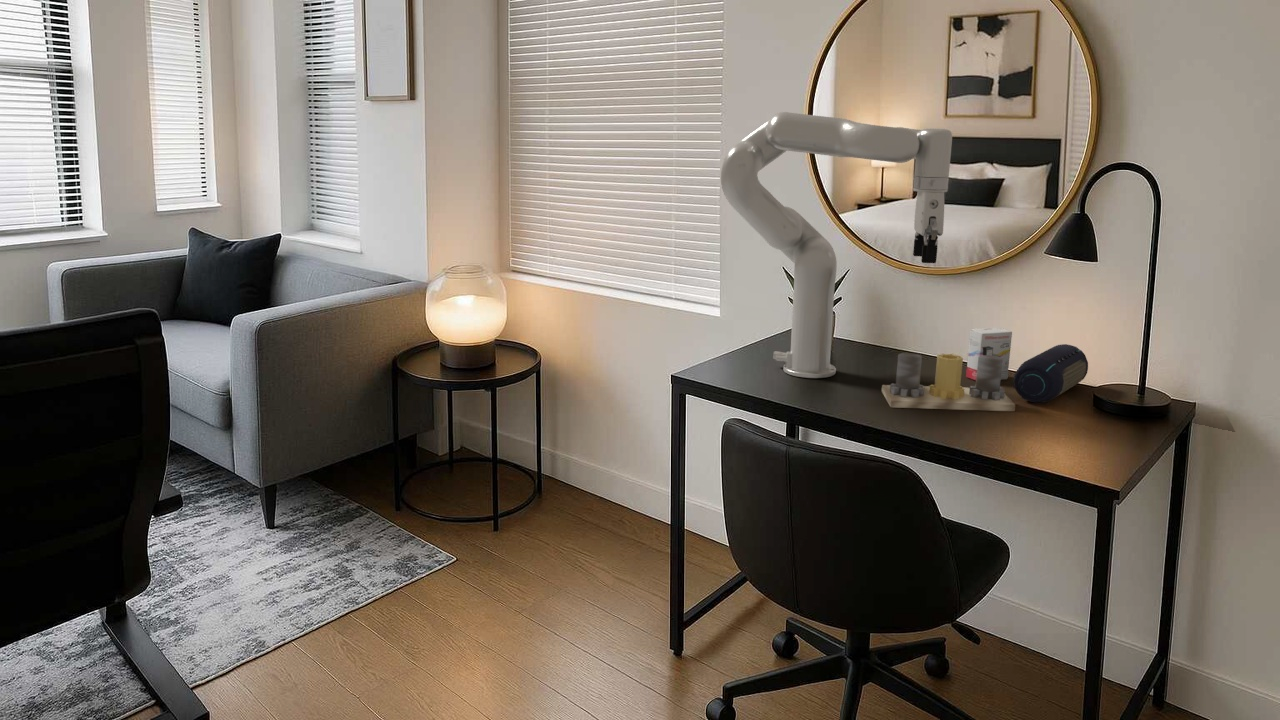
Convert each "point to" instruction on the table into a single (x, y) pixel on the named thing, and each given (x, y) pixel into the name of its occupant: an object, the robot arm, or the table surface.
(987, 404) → the board
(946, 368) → the gear
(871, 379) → the table surface
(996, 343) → the ink box
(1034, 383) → the portable speaker
